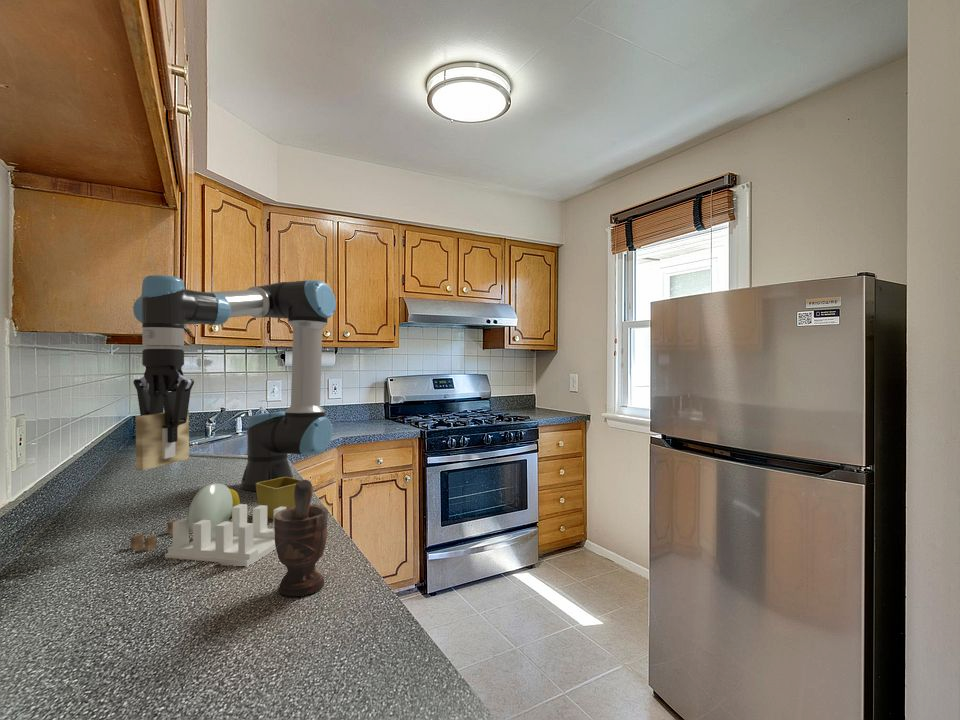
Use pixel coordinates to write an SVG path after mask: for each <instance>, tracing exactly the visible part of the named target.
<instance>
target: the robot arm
mask: <svg viewBox="0 0 960 720" xmlns="http://www.w3.org/2000/svg"><path fill="white" fill-rule="evenodd" d="M184 284H185V283H184V279H182V278H180V277H177V276H171V275H162V274H161V275H159V274H158V275H157V274H154V275H147V276H145V277H144V278H143V280H142V283H141V295H140V296H139V297H138V298H136V300H135V301H134V303H133V306H132V308H133V309H132V310H133V315H134V317H135V319H136V320H137V321H138V322H139V323H141V324H142V325H141V326H142V327H141V328H142V331H141V334H142V335H141V336H142V346H143V347H145V349H142V355H141V356H142V359H141V360H142V361H141V364H142V366H143V367H145V371H144V372H143V376H142V377H141V378H136V379H134V380H133V385H134V387H135V389H136V394H137V401H138V407H139V413H140V414H139V416H143V415H150V414H158V413H164V414H165V425H164V426H163V428H162V459H166V458H170V457H174V456H175V442H176V441H177V439H178V437H177V436H178V435H177V434H178V426H179V425H181V424H184V423H186V421H187V414H188V410H189V406H190V405H189V404H190V398H191V391H192V388H193V387H194V385H195V380H194V379H191V378H190V379H189V378H187V377H185V376H184V372H183V369H182V367H183V366H184V365H185V350H184V349H182V347H185V325H208V326H220V325H221V326H222V325H223V324H226V322H228V321H229V319H231V318H239V317H240V318H241V317H249V316H251V317H252V318H255V319H260V318H262V319H263V318H271V319H272V318H273V319H274V318H275V319H286V320H287V322H288V324H289V325H290V327H292V350H291V351H292V353H291V354H292V356H291V358H292V361H291V383H290V384H291V385H290V386H291V387H290V388H291V390H290V391H291V392H290V406H289V407H288V408H287V409H286V410H283V411H276V412H267V413H260V414H259V413H257V414H253V415H250V417H249V418H248V420H247V421H248V422H247V427H246V430H247V433H246V436H247V439H246V441H247V443H246V444H247V462H246V467H245V469H244V471H243V475H242V478H241V480H240V482H241V484H240V486H241V487H240V488H241V489H242V490H244V491H248V492H249V491H250V492H256V483H258V482H263V481H268V480H272V479H277V478H281V477H290V478H294V474H293V472H292V469H291V465H290V463H289V460H288V457H289V456H288V455H301V456H316V455H320V454H322V453H323V452H325V450H326V449H327V448H328V446H329V445H330V443H331V440H332V437H333V431H334V427H333V424H332V422H331V420H330V419H329V418H327V417H326V410H325V409H324V408H323V407H322V406H321V391H322V389H321V387H322V385H321V383H322V380H321V379H322V356H323V355H322V353H323V351H322V349H323V330H324V329H325V327H327V325H328V319H329V318H331V317H333V316H334V314H335V312H336V309H337V301H336V297H335V294H334V291H333V290H332V289H331V287H330V285H329V284H327V283H326V282H324V281H323V280H318V279H317V280H314V279H313V280H311V279H307V280H298V281H282V282H275V283H270V284H265V285H259V286H251V287H249V288H247V289H246V290H245V289H244V290H225V291H199V290H198V291H197V290H191V289H186V288H185V285H184ZM172 420H173V421H172Z"/></svg>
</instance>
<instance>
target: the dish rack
mask: <svg viewBox="0 0 960 720" xmlns="http://www.w3.org/2000/svg"><path fill="white" fill-rule="evenodd" d="M284 509H286V507H281V506H280V507H278V508H276V509H274V516H275V515H276V513H278V512H279V511H281V510H284ZM177 520H178V519H177ZM272 526H273V528H269V527H268V518H267V506H265V505H258V506H255V507H254V508H252V522H251V523H250V522H248V504H244V503H240V504H239V505H236V506H234V507H232V517H231V521H228V522H227V521H225V522H222V523H220V524H218V525H216V536H215V537H213V538H211V520H201V521H199V522H197V523H194V524H193V534H192V540H191V541H190V538H189V537H190V533H189V524H188V518H180V519H179V520H178V521H175V522H173V535H172V545H171V546H169V547H168V549H167V550H168V551H167V552H166V553H164V558H167V559H179V560H191V561H204V562H215V563H216V564H221V565H220V566H225V565H233V566H232V567H236V566H245V567H244V568H249V567H250V566H251V565H250V564H252V565H253V564H255V563H256V562H258V561H260V560H261V559H263V558H264V557H266V556H268V555H269V554H271V553H272V552H274V551H275V550H276V546H275V529H274V524H273V525H272ZM273 550H274V551H273ZM270 552H271V553H270ZM262 557H263V558H262ZM259 559H260V560H259ZM254 562H255V563H254ZM249 565H250V566H249Z"/></svg>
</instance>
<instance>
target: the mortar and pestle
mask: <svg viewBox="0 0 960 720" xmlns="http://www.w3.org/2000/svg"><path fill="white" fill-rule="evenodd" d="M300 480H301V481H299V482H298V483H297V484H296V486H295V491H294V499H295V505H296V506H294V507H289V508H286V509H284V510H281V511H279V512H278V513H276V515H275V516H274V519H273V525H274V529H275V546H276V549H275V550H276V553H277V554H276V555H277V557H278V561H280V563H281V564H282V565H284V566H285V567H286V569H287V571H286V573H285V574H284V576H283V577H282V578H281V581H280V583H279V586H278V592H279V594H280V595H282V596H287V597H297V596H302V597H304V596H303V595H306V596H309V595H308V594H311V593H314V592H316V591H317V592H319V591H320V590H322V587H324V585H325V578H324V574H323V573H322V572H320V571H319V570H318V569H317V568H316V563H317V562H318V561H320V559H321V558H322V556H323V554H324V552H325V548H326V545H327V538H328V518H329V517H328V516H329V515H328V514H329V509H328V508H327V507H326V506H323V505H320V504H316V503H315V504H311V502H312V500H313V499H312V498H313V492H314V487H313V484H312V482H311V481H310V480H308V479H300ZM319 589H320V590H319ZM317 592H316V593H317ZM314 594H315V593H314ZM311 595H312V594H311Z"/></svg>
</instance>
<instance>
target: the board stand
mask: <svg viewBox="0 0 960 720" xmlns="http://www.w3.org/2000/svg"><path fill="white" fill-rule="evenodd" d="M175 521H178V519H174V520H171V521H168V522H167V524H166V525H167V526H166V527H167V529H166V534H167V535H171V536H173V522H175ZM190 533H192V532H191V531H190V528H189V534H190ZM157 537H158V536H157V534H152V535H150V536H147V537H144V534H143V533H138V534H136V535H133V536H130V551H131V550H132V551H141V552H149V551H152V550H154V549H156V548H157V545H158V544H157V540H158V539H157Z"/></svg>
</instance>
